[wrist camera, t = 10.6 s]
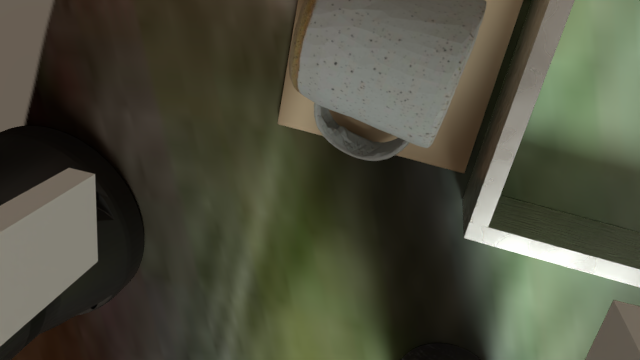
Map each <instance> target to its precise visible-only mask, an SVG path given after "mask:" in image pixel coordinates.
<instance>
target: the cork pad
mask: <svg viewBox="0 0 640 360" xmlns="http://www.w3.org/2000/svg"><path fill="white" fill-rule="evenodd" d="M485 1H486V2H487V3H486V10H485V14H484V17H483V20H482V23H481V25H480V27H479V31H478V35H477V38H476V41H475V43H474V46H473V49H472V51H471V54H470V56H469V58H468V61H467V63H466V65H465V68H464V70H463V72H462V75H461V77H460V80H459V83H458V86H457V88H456V89H455V93H454V95H453V97H452V100H451V102H450V105H449V107H448V110H447V113H446V115H445V117H444V119H443V122H442V124H441V126H440V128H439V130H438V133H437V135H436V137H435V139H434V141H433V143H432V144H431V146H430V147H428V148H424V147H420V146H417V145H414V144H412V143H409V144H408V145H407V146H406V147H405V148H404V149H403V150H402V151H400V152H399V153H398V154H396V155H397V156H400V157H404V158H408V159H412V160H415V161H419V162H423V163H427V164H431V165H434V166H438V167H442V168H446V169H449V170H453V171H457V172H461V173H465V170H466V167H467V164H468V161H469V158H470V155H471V152H472V149H473V146H474V143H475V140H476V138H477V135H478V132H479V129H480V126H481V123H482V120H483V117H484V114H485V111H486V108H487V105H488V102H489V99H490V96H491V94H492V91H493V88H494V85H495V82H496V79H497V76H498V73H499V70H500V67H501V64H502V61H503V58H504V55H505V52H506V50H507V47H508V44H509V41H510V38H511V35H512V32H513V29H514V26H515V23H516V20H517V17H518V14H519V11H520V9H521V6H522V3H523V0H485ZM303 3H304V0H298V4H297V10H296V16H295V22H294V28H293V34H294V30H295V27H296V23H297V20H298V17H299V14H300V10H301V8H302V5H303ZM293 34H292V39H293ZM291 44H292V40H291ZM290 50H291V46H290ZM289 58H290V52H289ZM289 58H288V64H287V70H286V76H285V83H284V89H283V95H282V101H281V107H280V113H279V119H278V124H280V125H284V126H287V127H291V128H295V129H299V130H302V131H306V132H310V133H314V134H317V135H321V136H323V135H322V133H321V132H320V130H319V129H318V127H317V125H316V121H315V117H314V102H313V101H311V100H310V99H308V98H306V97H305V96H303V95H302V94H300V93H299V92H298V91H297V90H296V89H295V88H294V86H293V84H292V81H291V78H290V75H289ZM329 111H330V113H331V115H332V117H333V119H334V120H335V121H336V123H337V124H338V125H340V126H343V127H345V128H346V129H347V130H348V131H351V132H353V133H355V134H357V135H359V136H361V137H363V138H365V139H368V140H370V141H373V142H388V141H392V140H394V139H397V138H398V137H396V136H394V135H391V134H389V133H386V132H384V131H382V130H379V129H377V128H375V127H372V126H370V125H368V124H366V123H363V122H361V121H359V120H356V119H354V118H352V117H349V116H346V115H343V114H340V113H338V112H335V111H332V110H330V109H329Z"/></svg>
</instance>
